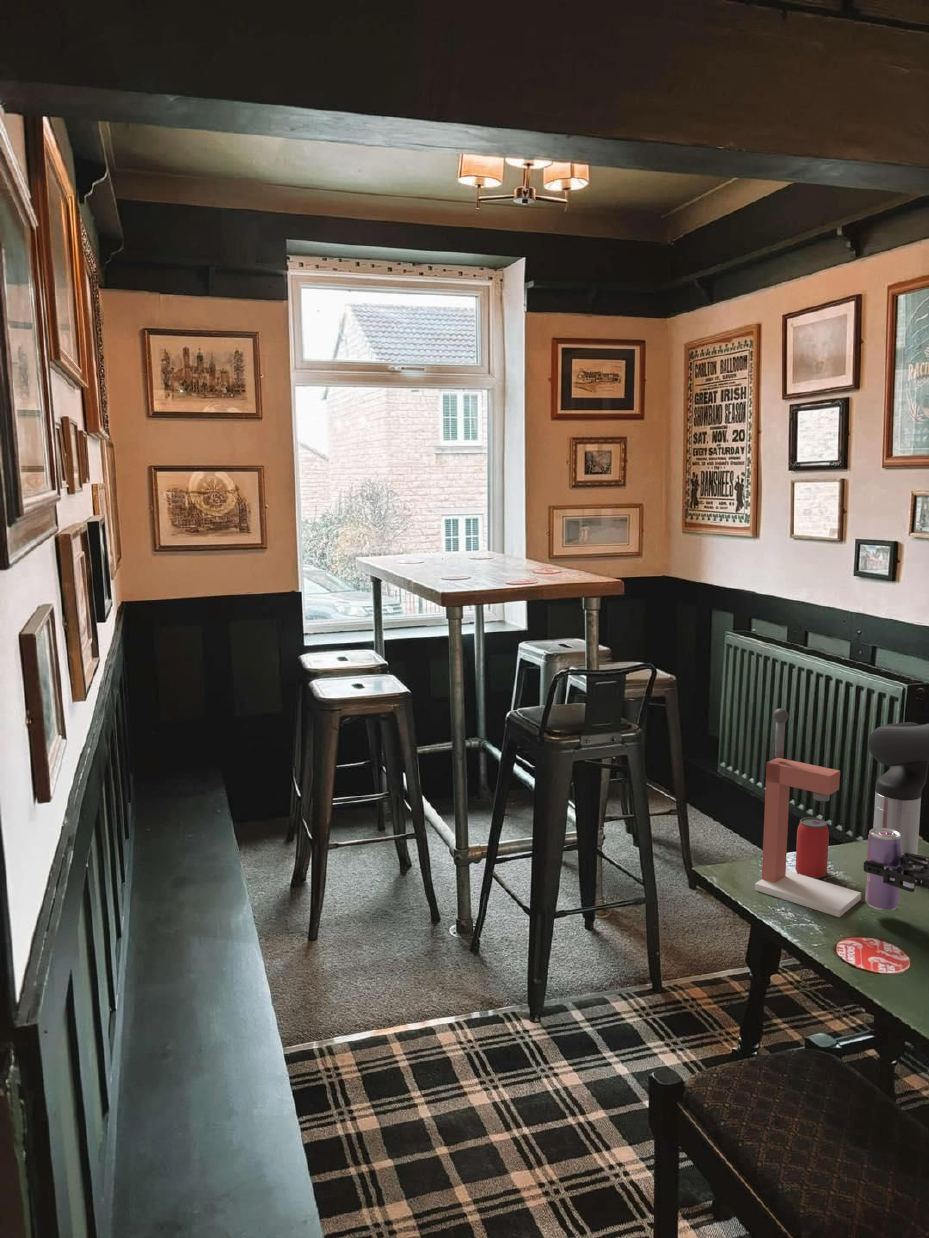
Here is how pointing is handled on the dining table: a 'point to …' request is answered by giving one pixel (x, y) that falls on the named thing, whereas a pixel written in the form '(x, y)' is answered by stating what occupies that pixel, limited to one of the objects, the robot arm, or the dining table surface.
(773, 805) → the bench press
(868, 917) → the dining table surface
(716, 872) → the dining table surface
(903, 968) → the dining table surface
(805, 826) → the beer can
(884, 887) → the beverage can
